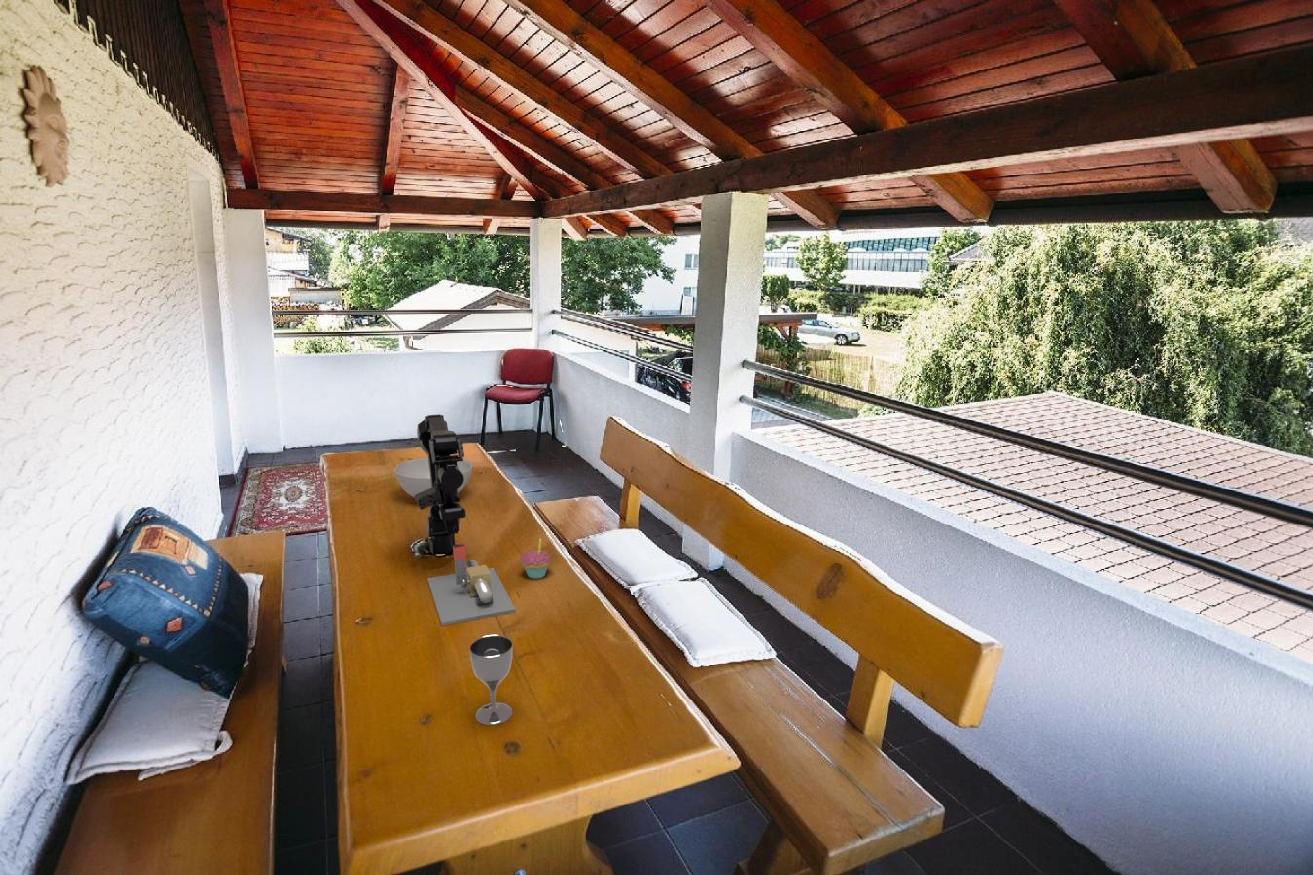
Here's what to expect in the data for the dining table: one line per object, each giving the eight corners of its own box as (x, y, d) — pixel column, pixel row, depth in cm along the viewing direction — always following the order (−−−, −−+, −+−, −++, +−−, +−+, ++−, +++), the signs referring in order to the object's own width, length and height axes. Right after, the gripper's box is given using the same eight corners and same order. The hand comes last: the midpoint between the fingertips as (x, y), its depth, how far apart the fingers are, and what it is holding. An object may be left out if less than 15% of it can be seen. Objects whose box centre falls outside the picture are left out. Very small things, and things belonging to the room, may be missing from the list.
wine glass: (476, 701, 146) (473, 635, 142) (516, 700, 146) (514, 634, 143) (470, 727, 138) (466, 657, 134) (512, 725, 139) (509, 656, 135)
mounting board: (427, 580, 197) (427, 578, 197) (493, 570, 204) (493, 567, 204) (441, 625, 174) (441, 622, 174) (515, 611, 182) (515, 609, 181)
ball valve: (460, 577, 198) (459, 557, 196) (481, 574, 200) (480, 554, 199) (475, 610, 180) (473, 588, 179) (497, 606, 182) (496, 584, 181)
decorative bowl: (489, 496, 265) (488, 464, 262) (431, 517, 243) (429, 483, 240) (439, 482, 278) (437, 452, 275) (380, 501, 256) (377, 469, 253)
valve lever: (455, 586, 188) (452, 544, 185) (466, 584, 190) (464, 543, 187) (456, 590, 186) (454, 548, 183) (467, 588, 187) (465, 546, 184)
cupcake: (557, 572, 204) (556, 532, 201) (540, 584, 197) (539, 543, 194) (531, 566, 208) (530, 527, 205) (514, 578, 200) (512, 537, 197)
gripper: (411, 472, 201) (415, 524, 205) (420, 492, 184) (423, 549, 188) (452, 468, 205) (455, 519, 209) (464, 487, 189) (467, 543, 193)
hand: (449, 532), depth 200 cm, fingers closed
